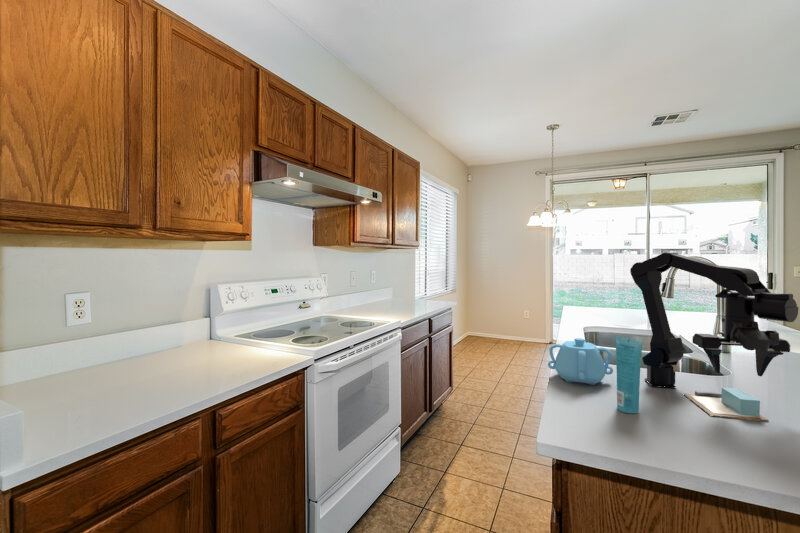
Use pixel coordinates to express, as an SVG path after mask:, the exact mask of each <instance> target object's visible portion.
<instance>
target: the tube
mask: <svg viewBox="0 0 800 533" xmlns="http://www.w3.org/2000/svg"><path fill="white" fill-rule="evenodd" d="M614 340H615V359H616V363H615V364H616V408H617V409H618V411H620V412H623V413H625V414H638V413H639V410H640V380H641V365H642V364H641V363H642V353H643V344H644V341H641V340H640V341H639V340H636V339H631V338H627V337H622V336H618V335H615V338H614Z"/></svg>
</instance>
